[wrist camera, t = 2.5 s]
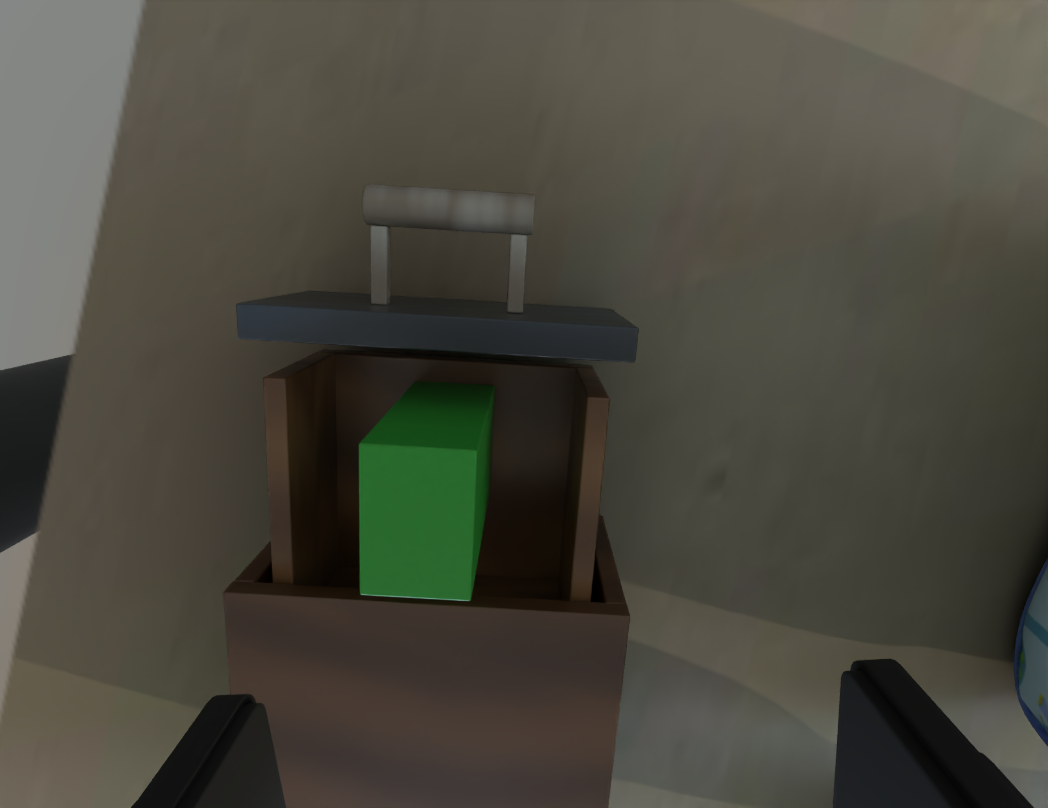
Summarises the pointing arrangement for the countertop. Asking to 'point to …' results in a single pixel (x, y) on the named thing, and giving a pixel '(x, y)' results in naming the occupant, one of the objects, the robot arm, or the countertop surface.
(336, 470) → the drawer
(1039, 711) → the lunch box
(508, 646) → the cabinet
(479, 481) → the green rectangular box
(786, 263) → the countertop surface
